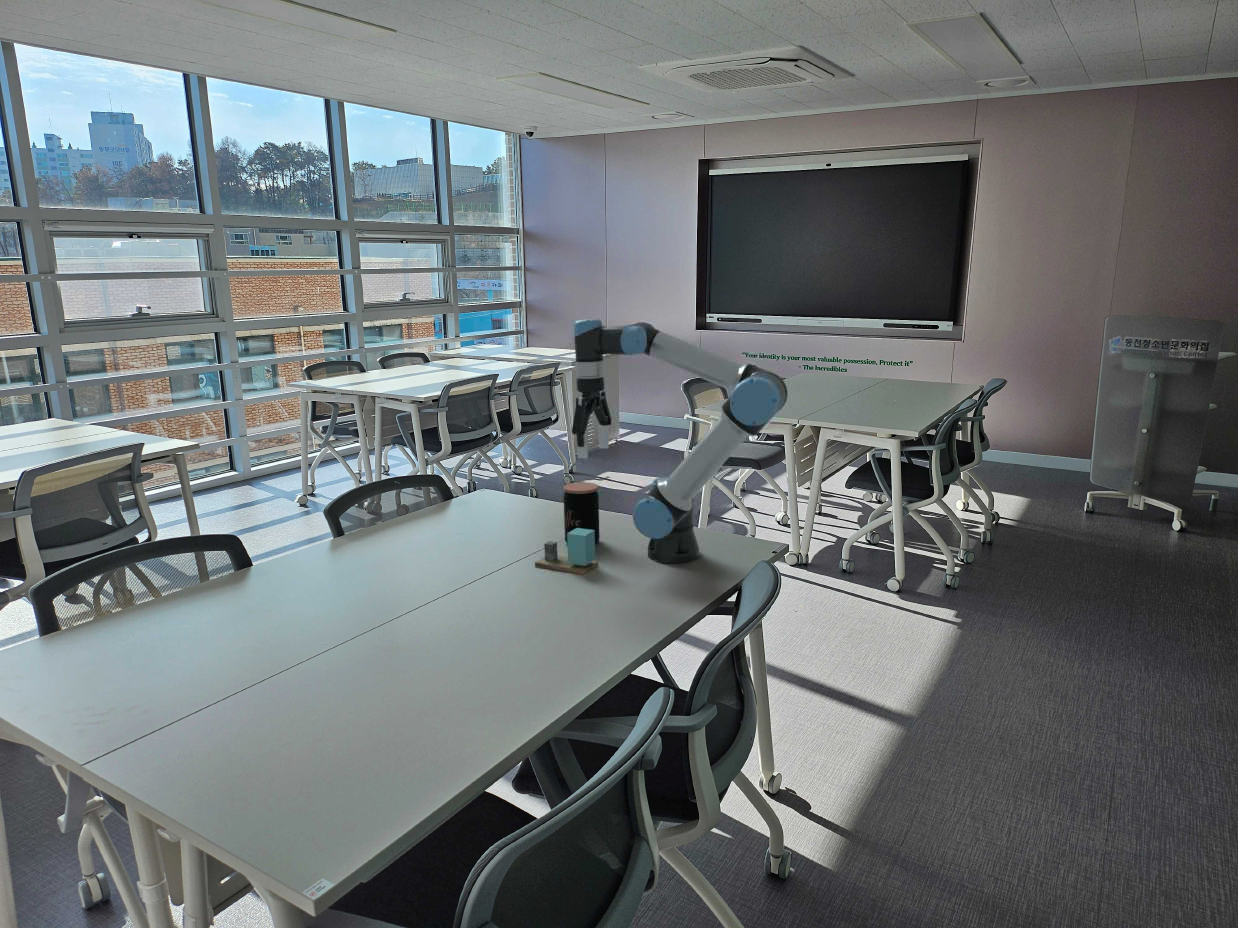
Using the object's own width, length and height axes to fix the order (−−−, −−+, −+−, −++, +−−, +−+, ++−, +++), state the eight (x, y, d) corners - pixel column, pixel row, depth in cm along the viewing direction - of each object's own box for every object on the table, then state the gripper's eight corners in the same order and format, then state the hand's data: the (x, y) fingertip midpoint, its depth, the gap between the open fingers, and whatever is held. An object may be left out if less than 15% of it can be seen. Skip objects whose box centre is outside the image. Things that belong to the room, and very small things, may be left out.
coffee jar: (559, 540, 259) (558, 484, 255) (591, 535, 263) (590, 480, 259) (572, 550, 250) (570, 492, 245) (605, 545, 254) (603, 488, 250)
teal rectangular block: (577, 556, 237) (577, 527, 235) (595, 559, 235) (594, 530, 233) (568, 562, 233) (567, 533, 231) (585, 565, 230) (584, 535, 228)
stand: (549, 557, 243) (548, 524, 241) (597, 565, 236) (597, 531, 234) (535, 566, 237) (533, 532, 234) (584, 574, 229) (583, 539, 227)
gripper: (597, 371, 239) (600, 443, 244) (556, 382, 217) (560, 461, 222) (621, 371, 236) (623, 444, 241) (582, 382, 214) (586, 463, 219)
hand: (593, 453), depth 231 cm, fingers open, 13 cm apart
